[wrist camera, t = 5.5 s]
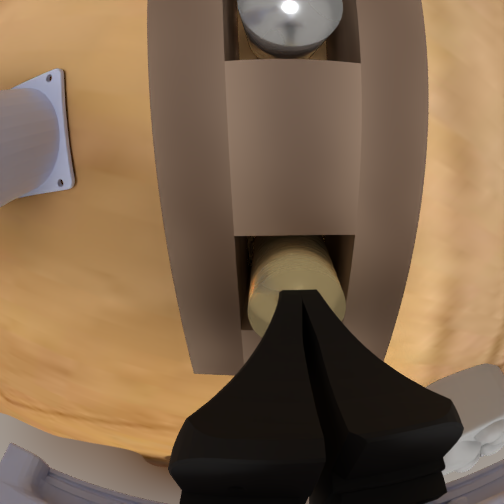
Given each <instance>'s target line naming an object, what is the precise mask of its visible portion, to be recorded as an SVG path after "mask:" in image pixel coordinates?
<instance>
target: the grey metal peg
mask: <svg viewBox="0 0 504 504" xmlns="http://www.w3.org/2000/svg"><path fill="white" fill-rule="evenodd" d="M237 4H238V10H239V13H240V16H241V20H242V23H243V26H244V30H245V33H246V36H247V40H248V43H249V46H250V49H251V50H252V52H253V53H254V54H255V56H256V57H257V58H258V59H309V58H310V57H311V56H312V55H313V53H314V52H315V51H316V50H317V49H318V48H319V47H320V46H321V44H322V43H323V42H324V41H325V40H326V39H327V38H328V37H329V35H330V34H331V33H332V32H333V31H334V30H335V29H336V27H337V26H338V24H339V22H340V20H341V17H342V13H343V3H342V0H237Z"/></svg>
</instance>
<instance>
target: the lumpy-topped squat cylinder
mask: <svg viewBox="0 0 504 504" xmlns="http://www.w3.org/2000/svg"><path fill="white" fill-rule="evenodd" d="M426 388H427V389H429V390H431V391H433V392H436V393H438V394H440V395H442V396H445V397H447V398H449V399H451V400H452V402H453V404H454V406H455V407H456V409H457V411H458V414H459V417H460V419H461V422H462V424H463V427H464V430H463V434H462V436H461V438H460V439H459V440H458V442H457V443H456V444H455V445H454V446H453V447H452V449H451V450H450V451H449V452H448V453H447V454H446V455H445V456H444V457H443V459H444V462H445V466H446V467H445V469H444V470H443V471H442V474H443V475H445V474H448V473H451V472H453V471H456V472H465V471H467V470H469V469H471V468H472V467H473V466H474V465H475V464H476V462H477V461H478V459H479V457H481V456H484V455H492V454H494V453H496V452H497V451H499V450H500V449H501V448H502V447H503V446H504V375H503V373H502V371H501V370H500V368H499V367H498V366H496V365H492V364H481V365H478V366H474V367H471V368H468V369H465V370H463V371H460V372H457V373H455V374H452V375H450V376H447V377H444V378H442V379H440V380H437V381H435V382H434V383H432V384H430V385H429V386H427V387H426Z"/></svg>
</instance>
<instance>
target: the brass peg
mask: <svg viewBox="0 0 504 504" xmlns="http://www.w3.org/2000/svg"><path fill="white" fill-rule="evenodd" d="M312 289H317V290H318V291H319V293H320V294H321V296H322V297H323V298H324V300H325V301H326V303H327V304H328V305H329V307H330V308H331V309H332V311H333V312H334V313H335V314H336V316H337V317H338V318H339V319H340V320H341V321H342V320H343V318H344V315H345V311H346V300H345V296H344V293H343V291H342V288H341V285H340V282H339V279H338V277H337V274H336V271H335V269H334V266H333V263H332V261H331V258H330V255H329V253H328V250H327V247H326V245H325V242H324V240H323V237H322V235H273V236H255V239H254V249H253V259H252V270H251V280H250V290H249V301H248V319H249V322H250V324H251V326H252V328H253V329H254V331H255V332H256V333H257V334H258V335H259V336H260V337H261V338H262V337H263V335H264V334H265V332H266V330H267V328H268V326H269V324H270V322H271V319H272V317H273V315H274V312H275V309H276V306H277V303H278V298H279V292H281V291H282V290H312Z"/></svg>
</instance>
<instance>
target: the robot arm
mask: <svg viewBox="0 0 504 504" xmlns="http://www.w3.org/2000/svg"><path fill="white" fill-rule="evenodd" d="M51 75H52V80H51V81H50V77H51ZM61 180H62V181H63V185H62V184H61ZM74 184H75V178H74V172H73V166H72V160H71V153H70V145H69V137H68V128H67V118H66V105H65V89H64V72H63V70H62V69H53V70H51V71H49V72H46V73H44V74H41V75H39V76H37V77H35V78H32V79H30V80H28V81H26V82H24V83H22V84H19V85H17V86H15V87H13V88H11V89H8V90H0V207H2V206H3V205H5V204H7V203H9V202H11V201H13V200H14V199H16V198H20V197H25V196H31V195H37V194H42V193H48V192H55V191H61V190H68V189H70V188H72V187H73V186H74ZM463 430H464V427H463V424H462V422H461V419H460V417H459V414H458V411H457V409H456V407H455V406H454V404H453V402H452V400H451V399H449V398H447V397H445V396H442V395H440V394H438V393H436V392H433V391H431V390H429V389H427V388H425V387H423V386H421V385H419V384H418V383H416V382H414V381H412V380H410V379H409V378H407V377H405V376H404V375H402V374H401V373H399V372H397V371H396V370H395V369H393V368H392V367H390V366H389V365H387V364H386V363H385V362H383V361H382V360H381V359H379V358H378V357H377V356H376V355H374V354H373V353H372V352H371V351H370V350H369V349H367V348H366V347H365V346H364V345H363V344H362V343H361V342H360V341H359V340H358V339H357V338H356V337H355V336H354V335H353V334H352V333H351V332H350V331H349V330H348V328H347V327H346V326H345V325H344V324H343V323H342V321H341V320H340V319H339V318H338V317H337V316H336V314H335V313H334V312H333V311H332V309H331V308H330V307H329V305H328V304H327V303H326V301H325V300H324V298H323V297H322V296H321V294H320V293H319V291H318V290H317V289H312V290H282V291H281V292H279V298H278V303H277V306H276V309H275V312H274V315H273V317H272V319H271V322H270V324H269V326H268V328H267V330H266V332H265V334H264V335H263V337H262V339H261V341H260V343H259V344H258V346H257V347H256V349H255V350H254V352H253V353H252V355H251V356H250V358H249V359H248V360H247V362H246V363H245V364H244V365H243V367H242V368H241V369H240V370H239V372H238V373H237V374H236V375H235V376H234V377H233V379H232V380H231V381H230V382H229V383H228V384H227V385H226V386H225V387H224V388H223V389H222V390H220V391H219V392H218V393H217V394H216V395H215V396H214V397H213V398H212V399H211V400H210V401H209V402H207V403H206V404H205V405H203V406H202V407H201V408H200V409H198V410H197V411H196V412H194V413H193V414H192V415H190V416H189V417H188V418H187V419H186V420H185V422H184V424H183V426H182V428H181V430H180V432H179V434H178V436H177V438H176V441H175V444H174V446H173V449H172V453H171V458H170V462H169V467H168V470H169V473H170V475H171V476H172V478H173V479H174V480H175V481H176V483H177V484H178V486H179V487H180V488H181V489H182V494H181V499H180V504H305V503H306V501H307V499H308V497H309V504H504V459H503V460H501V461H499V462H497V463H494V464H492V465H490V466H488V467H486V468H484V469H481V470H479V471H477V472H474V473H472V474H470V475H467V476H465V477H462V478H460V479H457V480H454V481H451V482H449V483H446V484H445V481H444V478H443V474H442V471H443V470H444V469H445V467H446V466H445V462H444V459H443V457H444V456H445V455H446V454H447V453H448V452H449V451H450V450H451V449H452V447H453V446H454V445H455V444H456V443H457V442H458V440H459V439H460V438H461V436H462V434H463ZM0 504H167V503H161V502H157V501H152V500H147V499H143V498H139V497H135V496H130V495H127V494H123V493H120V492H116V491H113V490H109V489H106V488H103V487H100V486H97V485H94V484H91V483H88V482H85V481H82V480H80V479H77V478H74V477H72V476H69V475H67V474H64V473H62V472H59V471H57V470H55V469H52V468H50V467H49V465H48V464H46V463H45V462H44V461H43V460H42V459H41V458H40V457H38V456H37V455H35V454H33V453H31V452H29V451H27V450H25V449H23V448H21V447H19V446H17V445H16V444H14V443H10V444H9V446H8V448H7V450H6V452H5V454H4V456H3V458H2V460H1V463H0Z"/></svg>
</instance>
